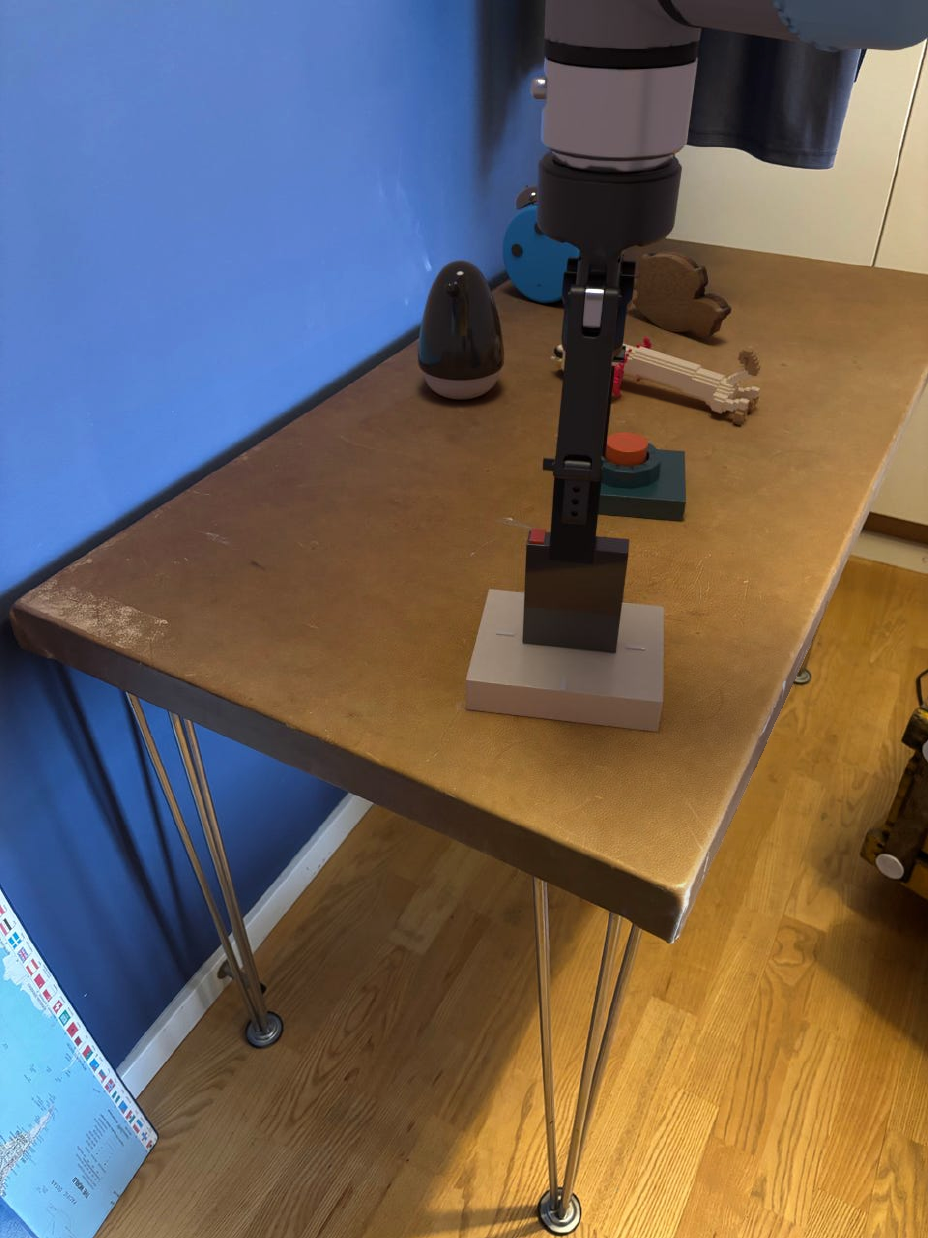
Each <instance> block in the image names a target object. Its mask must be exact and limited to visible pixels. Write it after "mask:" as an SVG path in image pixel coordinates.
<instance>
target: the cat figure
mask: <svg viewBox="0 0 928 1238" xmlns="http://www.w3.org/2000/svg"><path fill="white" fill-rule="evenodd" d="M642 342H643V343H640V344H639V343H637V344H636V346H632V345H629V344H626V343H623V345H625V346H626V352H625V361H624V363H620V362H612V366H615V372H614V381H613V390H612V394H613V395H614V396H615V397H617V398H621V397H622V394H621V391H622V389H621V388H620V387H621V385H622V379H623V378H624V376H626V377H628V378H631V379H635V380H636V381H638V382H640V381H641V379H642V380H645V381H648V382H651V383H655V384H657V385H661V386H663V387H666V388H669V389H673V390H676V391H680V392H681V395H683V396H686V397H690V398H693V399H696V400H698V401H702V402H705V405H706V406H709V408H710V409H711V412H715V413H718V414H721V415H722V414H724V413H726V411H728V412H731V413H733V416H732V424H736V425H738V426H741V425H742V424H743V423H744V421H745V418H746V417H747V415H748V413H750V414H751V413H753V411H755V407H756V405H757V404H758V401H759V397H760V396H759V394H760V391H761V387H757V386H754V385H752V386H751V387H748V386H746V387H745V388H743V387H740V384H739V383H741V382H747V381H749V380H751V379H754V377H757V376H758V375H759V373H760V370H761V365H759V363H760V359H758V356H757V355H756V353H757V352H754V351H755V350H754V349H751V348H748V347H745V348H743V349H741V350H740V351H739V354H738V357H737V361H739V364H741V365H743V366H744V367H743V368H742V369H741V370H738V371H736V372H735V373H732V374H731V375H729V376H728V377H727V378H726V375H725V374H722V373H718V372H715V371H713V370H709V369H707V368H706V369H705V368H703V367H702V366H701V364H698V363H695V362H691V361H689V360H685V359H682V358H679V357H676V356H672V355H669V354H666V353H663V352H659V351H657V350H654V349H651V348H652V345H653V344H652V341H651V338H649V337H648V336H644V337H643V340H642ZM553 354H554V356H550V360H551V361H553V362H554V364H556V365H555V366H556V368H558V369H561V370H562V372H564V363H565V351H564V350H563V348H562V343H561V344H559V345H557V346H556V347H554V349H553ZM557 358H559V359H557Z"/></svg>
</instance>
